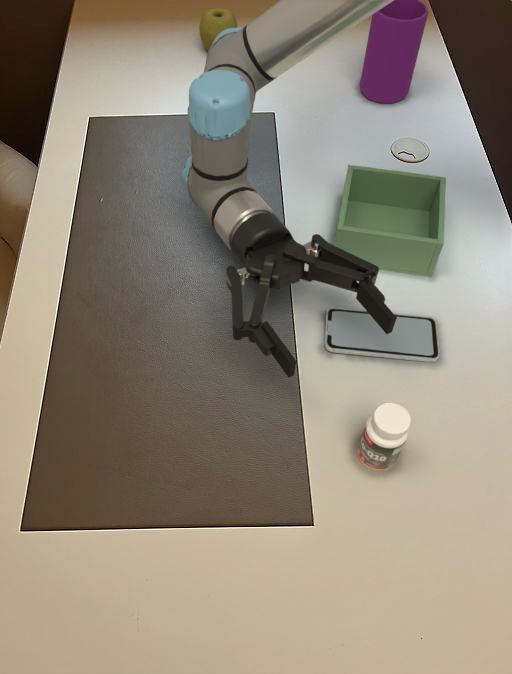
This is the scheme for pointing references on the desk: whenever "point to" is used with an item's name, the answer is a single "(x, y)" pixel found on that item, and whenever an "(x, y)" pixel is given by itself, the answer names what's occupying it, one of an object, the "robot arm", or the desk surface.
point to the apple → (215, 25)
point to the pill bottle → (384, 436)
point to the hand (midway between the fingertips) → (343, 347)
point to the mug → (392, 50)
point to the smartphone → (381, 336)
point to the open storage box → (393, 219)
